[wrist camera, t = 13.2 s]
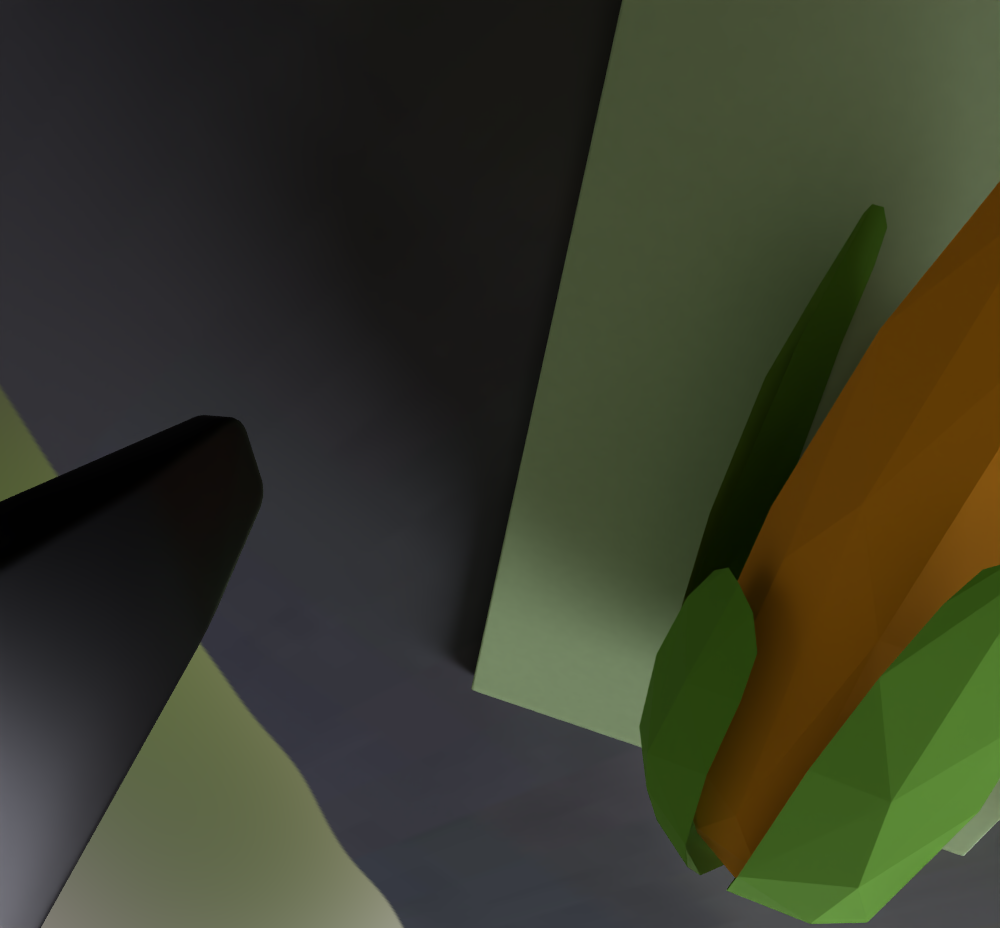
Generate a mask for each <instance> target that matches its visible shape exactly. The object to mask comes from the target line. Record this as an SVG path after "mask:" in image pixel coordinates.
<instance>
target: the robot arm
mask: <svg viewBox="0 0 1000 928" xmlns="http://www.w3.org/2000/svg"><path fill="white" fill-rule="evenodd" d="M262 498H263V483H262V479H261V476H260V473H259V470H258V466H257V463H256V460H255V457H254V454H253V451H252V448H251V444H250V441H249V438H248V435H247V432H246V430H245V427H244V426H243V425H242V423H241V422H240V421H239V420H237V419H235V418H233V417H222V416H210V415H201V416H196V417H194V418H191V419H189V420H187V421H185V422H182V423H180V424H178V425H175V426H173V427H171V428H168V429H166V430H164V431H162V432H159V433H157V434H155V435H152V436H150V437H148V438H145V439H143V440H141V441H139V442H136V443H134V444H132V445H129V446H127V447H125V448H123V449H120V450H118V451H116V452H113V453H111V454H109V455H106V456H104V457H102V458H100V459H97V460H95V461H93V462H90V463H88V464H86V465H83V466H81V467H79V468H77V469H74V470H72V471H70V472H67V473H65V474H63V475H60V476H58V477H56V478H54V479H51V480H49V481H47V482H45V483H42V484H40V485H38V486H35V487H33V488H31V489H28V490H26V491H24V492H21V493H19V494H17V495H15V496H12V497H10V498H8V499H5V500H3V501H1V502H0V928H41V926H42V925H43V923H44V921H45V919H46V917H47V916H48V914H49V912H50V910H51V908H52V907H53V905H54V903H55V901H56V900H57V898H58V896H59V894H60V892H61V891H62V889H63V887H64V885H65V883H66V882H67V880H68V878H69V876H70V875H71V873H72V871H73V869H74V867H75V866H76V864H77V862H78V860H79V858H80V857H81V855H82V853H83V851H84V849H85V848H86V846H87V844H88V842H89V841H90V839H91V837H92V835H93V833H94V832H95V830H96V828H97V826H98V825H99V823H100V821H101V819H102V817H103V816H104V814H105V812H106V810H107V808H108V807H109V805H110V803H111V801H112V800H113V798H114V796H115V794H116V792H117V791H118V789H119V787H120V785H121V783H122V782H123V780H124V778H125V776H126V775H127V773H128V771H129V769H130V767H131V766H132V764H133V762H134V760H135V758H136V757H137V755H138V753H139V751H140V750H141V748H142V746H143V744H144V742H145V741H146V739H147V737H148V735H149V733H150V732H151V730H152V728H153V726H154V725H155V723H156V721H157V719H158V717H159V716H160V714H161V712H162V710H163V708H164V706H165V705H166V703H167V701H168V700H169V698H170V696H171V694H172V692H173V691H174V689H175V687H176V685H177V683H178V681H179V680H180V678H181V676H182V675H183V673H184V671H185V669H186V667H187V666H188V664H189V662H190V660H191V658H192V657H193V655H194V653H195V651H196V649H197V648H198V646H199V644H200V642H201V640H202V638H203V636H204V634H205V632H206V631H207V629H208V627H209V624H210V622H211V620H212V618H213V616H214V614H215V612H216V609H217V607H218V605H219V603H220V600H221V598H222V596H223V593H224V591H225V589H226V586H227V584H228V582H229V579H230V577H231V575H232V572H233V570H234V568H235V565H236V563H237V561H238V558H239V556H240V554H241V551H242V549H243V547H244V544H245V542H246V540H247V537H248V535H249V533H250V530H251V528H252V526H253V523H254V521H255V519H256V516H257V514H258V512H259V509H260V506H261V503H262Z"/></svg>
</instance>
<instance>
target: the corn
mask: <svg viewBox="0 0 1000 928" xmlns="http://www.w3.org/2000/svg"><path fill="white" fill-rule="evenodd" d="M886 230H887V222H886V217H885V211H884V207H882V206H878V205H875V204H872V205H871V206H870V207H869V208H868V209H867V210H866V211H865V212H864V213H863V215H862V216H861V218H860V220H859V221H858V223H857V224H856V226H855V228H854V229H853V231H852V233H851V234H850V236H849V237H848V239H847V241H846V242H845V244H844V246H843V247H842V249H841V250H840V252H839V254H838V255H837V257H836V259H835V260H834V262H833V263H832V265H831V267H830V268H829V270H828V272H827V273H826V275H825V276H824V278H823V280H822V281H821V283H820V285H819V286H818V288H817V290H816V291H815V293H814V295H813V296H812V298H811V300H810V301H809V303H808V305H807V307H806V308H805V310H804V312H803V313H802V315H801V317H800V319H799V320H798V322H797V324H796V325H795V327H794V329H793V331H792V332H791V334H790V336H789V337H788V339H787V341H786V343H785V344H784V346H783V348H782V349H781V351H780V353H779V355H778V356H777V358H776V360H775V361H774V363H773V365H772V366H771V368H770V370H769V372H768V373H767V375H766V377H765V379H764V381H763V384H762V386H761V389H760V391H759V394H758V396H757V398H756V401H755V403H754V406H753V408H752V411H751V413H750V416H749V418H748V420H747V423H746V425H745V428H744V430H743V433H742V435H741V438H740V440H739V443H738V445H737V447H736V450H735V452H734V455H733V457H732V460H731V462H730V465H729V467H728V469H727V472H726V474H725V477H724V479H723V482H722V484H721V487H720V489H719V491H718V494H717V496H716V499H715V501H714V504H713V506H712V509H711V511H710V514H709V517H708V520H707V524H706V527H705V530H704V533H703V537H702V540H701V543H700V547H699V550H698V553H697V557H696V560H695V563H694V566H693V570H692V573H691V576H690V580H689V583H688V586H687V590H686V593H685V596H684V599H683V603H682V606H681V609H680V611H679V613H678V615H677V617H676V619H675V621H674V623H673V624H672V626H671V628H670V630H669V632H668V634H667V636H666V637H665V639H664V641H663V643H662V645H661V647H660V649H659V650H658V652H657V654H656V658H655V662H654V667H653V671H652V675H651V679H650V683H649V687H648V692H647V696H646V700H645V704H644V708H643V713H642V717H641V721H640V725H639V729H640V737H641V745H642V754H643V762H644V770H645V778H646V786H647V791H648V794H649V797H650V800H651V803H652V806H653V810H654V813H655V816H656V819H657V821H658V823H659V824H660V826H661V827H662V829H663V830H664V832H665V833H666V835H667V836H668V838H669V839H670V841H671V842H672V844H673V846H674V847H675V849H676V850H677V852H678V853H679V855H680V856H681V858H682V859H683V861H684V862H685V864H686V865H687V867H688V868H690V869H691V870H693V871H695V872H696V873H698V874H699V875H702V874H704V873H707V872H709V871H711V870H713V869H716V868H718V867H720V866H722V865H725V866H726V868H727V869H728V870H729V871H730V872H731V874H732V875H733V876H734V877H735V878H734V880H733V881H732V883H731V884H730V885H729V887H728V889H727V891H729V892H732V893H734V894H737V895H739V896H742V897H744V898H747V899H749V900H752V901H754V902H757V903H759V904H762V905H764V906H767V907H769V908H772V909H774V910H777V911H779V912H782V913H784V914H787V915H789V916H792V917H794V918H797V919H799V920H802V921H804V922H807V923H810V924H823V923H864V922H868V921H869V920H870V919H871V918H872V917H873V916H874V915H875V914H876V913H877V912H878V911H879V910H880V909H881V908H882V907H883V906H884V905H885V904H886V903H887V902H888V901H889V900H890V899H891V898H892V897H893V896H894V895H896V894H897V893H898V892H899V891H900V890H901V889H902V888H903V887H904V886H905V885H906V884H907V883H908V882H909V881H910V880H911V879H912V878H913V877H914V876H915V875H916V874H917V873H918V872H919V871H920V870H921V869H922V868H923V867H924V866H925V865H926V864H927V863H928V862H929V861H930V860H931V859H932V858H933V857H934V856H935V855H936V854H937V853H938V852H939V851H940V850H941V849H942V848H943V847H944V846H945V845H946V844H947V843H948V842H949V841H950V840H951V839H952V838H953V837H954V836H955V835H956V834H957V833H958V832H959V831H960V830H961V829H962V828H963V827H964V826H965V825H966V824H967V823H968V822H969V821H970V820H971V819H972V818H973V817H974V816H975V815H976V814H977V813H978V812H979V811H980V810H981V808H982V806H983V805H984V803H985V802H986V800H987V798H988V797H989V795H990V793H991V792H992V790H993V789H994V787H995V785H996V784H997V782H998V781H999V779H1000V182H999V183H998V184H997V185H996V186H995V188H994V189H993V190H992V191H991V193H990V194H989V195H988V196H987V198H986V199H985V200H984V201H983V203H982V204H981V205H980V206H979V207H978V209H977V210H976V211H975V212H974V214H973V215H972V216H971V217H970V219H969V220H968V221H967V222H966V223H965V225H964V226H963V227H962V228H961V230H960V231H959V232H958V233H957V235H956V236H955V237H954V238H953V240H952V241H951V242H950V243H949V244H948V246H947V247H946V248H945V249H944V251H943V252H942V253H941V254H940V256H939V257H938V258H937V259H936V260H935V262H934V263H933V264H932V265H931V267H930V268H929V269H928V270H927V272H926V273H925V274H924V275H923V277H922V278H921V279H920V280H919V281H918V283H917V284H916V285H915V286H914V288H913V289H912V290H911V291H910V293H909V294H908V295H907V296H906V298H905V299H904V300H903V301H902V302H901V304H900V305H899V306H898V307H897V309H896V310H895V311H894V312H893V314H892V315H891V316H890V317H889V318H888V320H887V321H886V322H885V323H884V325H883V326H882V327H881V328H880V330H879V331H878V333H877V335H876V336H875V338H874V340H873V341H872V343H871V344H870V346H869V348H868V349H867V351H866V353H865V354H864V356H863V357H862V359H861V361H860V362H859V364H858V366H857V367H856V369H855V371H854V372H853V374H852V375H851V377H850V379H849V380H848V382H847V384H846V385H845V387H844V388H843V390H842V392H841V393H840V395H839V397H838V398H837V400H836V402H835V403H834V405H833V406H832V408H831V410H830V411H829V413H828V415H827V416H826V418H825V420H824V421H823V423H822V424H821V426H820V428H819V429H818V431H817V433H816V434H815V436H814V437H813V439H812V441H811V442H810V444H809V446H808V447H807V449H806V451H805V452H804V454H803V455H802V457H801V459H800V460H799V458H800V455H801V452H802V450H803V447H804V444H805V442H806V439H807V436H808V433H809V431H810V428H811V425H812V423H813V420H814V417H815V414H816V412H817V409H818V406H819V404H820V401H821V398H822V395H823V393H824V390H825V387H826V385H827V382H828V379H829V376H830V374H831V371H832V368H833V366H834V363H835V360H836V357H837V355H838V352H839V349H840V347H841V344H842V342H843V339H844V337H845V335H846V332H847V330H848V327H849V325H850V323H851V320H852V318H853V316H854V313H855V311H856V309H857V306H858V304H859V301H860V299H861V297H862V294H863V292H864V290H865V287H866V285H867V283H868V280H869V278H870V275H871V273H872V271H873V268H874V266H875V263H876V260H877V257H878V254H879V251H880V248H881V245H882V242H883V239H884V236H885V233H886ZM798 461H799V462H798ZM797 463H798V464H797Z"/></svg>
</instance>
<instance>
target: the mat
mask: <svg viewBox="0 0 1000 928" xmlns="http://www.w3.org/2000/svg"><path fill="white" fill-rule="evenodd" d="M999 182H1000V0H622V3H621V8H620V13H619V17H618V22H617V26H616V31H615V35H614V40H613V44H612V49H611V54H610V58H609V63H608V67H607V72H606V76H605V81H604V86H603V90H602V95H601V99H600V104H599V108H598V113H597V118H596V122H595V127H594V131H593V136H592V140H591V145H590V149H589V154H588V159H587V163H586V168H585V172H584V177H583V181H582V186H581V191H580V195H579V200H578V204H577V209H576V213H575V218H574V222H573V227H572V232H571V236H570V241H569V245H568V250H567V254H566V259H565V264H564V268H563V273H562V277H561V282H560V286H559V291H558V295H557V300H556V305H555V309H554V314H553V318H552V323H551V327H550V332H549V337H548V341H547V346H546V350H545V355H544V359H543V364H542V369H541V373H540V378H539V382H538V387H537V391H536V396H535V400H534V405H533V410H532V414H531V419H530V423H529V428H528V432H527V437H526V442H525V446H524V451H523V455H522V460H521V464H520V469H519V473H518V478H517V483H516V487H515V492H514V496H513V501H512V505H511V510H510V515H509V519H508V524H507V528H506V533H505V537H504V542H503V546H502V551H501V556H500V560H499V565H498V569H497V574H496V578H495V583H494V588H493V592H492V597H491V601H490V606H489V610H488V615H487V620H486V624H485V629H484V633H483V638H482V642H481V647H480V651H479V656H478V661H477V665H476V670H475V674H474V679H473V683H472V690H474V691H477V692H480V693H483V694H486V695H489V696H492V697H495V698H498V699H501V700H504V701H506V702H509V703H512V704H515V705H518V706H521V707H524V708H527V709H530V710H533V711H536V712H539V713H542V714H545V715H548V716H551V717H554V718H557V719H560V720H563V721H566V722H569V723H571V724H574V725H577V726H580V727H583V728H586V729H589V730H592V731H595V732H598V733H601V734H604V735H607V736H610V737H613V738H616V739H619V740H622V741H625V742H628V743H631V744H634V745H636V746H639V747H642V745H641V737H640V729H639V725H640V721H641V717H642V713H643V708H644V704H645V700H646V696H647V692H648V687H649V683H650V679H651V675H652V671H653V667H654V662H655V658H656V654H657V652H658V650H659V649H660V647H661V645H662V643H663V641H664V639H665V637H666V636H667V634H668V632H669V630H670V628H671V626H672V624H673V623H674V621H675V619H676V617H677V615H678V613H679V611H680V609H681V606H682V603H683V599H684V596H685V593H686V590H687V586H688V583H689V580H690V576H691V573H692V570H693V566H694V563H695V560H696V557H697V553H698V550H699V547H700V543H701V540H702V537H703V533H704V530H705V527H706V524H707V520H708V517H709V514H710V511H711V509H712V506H713V504H714V501H715V499H716V496H717V494H718V491H719V489H720V487H721V484H722V482H723V479H724V477H725V474H726V472H727V469H728V467H729V465H730V462H731V460H732V457H733V455H734V452H735V450H736V447H737V445H738V443H739V440H740V438H741V435H742V433H743V430H744V428H745V425H746V423H747V420H748V418H749V416H750V413H751V411H752V408H753V406H754V403H755V401H756V398H757V396H758V394H759V391H760V389H761V386H762V384H763V381H764V379H765V377H766V375H767V373H768V372H769V370H770V368H771V366H772V365H773V363H774V361H775V360H776V358H777V356H778V355H779V353H780V351H781V349H782V348H783V346H784V344H785V343H786V341H787V339H788V337H789V336H790V334H791V332H792V331H793V329H794V327H795V325H796V324H797V322H798V320H799V319H800V317H801V315H802V313H803V312H804V310H805V308H806V307H807V305H808V303H809V301H810V300H811V298H812V296H813V295H814V293H815V291H816V290H817V288H818V286H819V285H820V283H821V281H822V280H823V278H824V276H825V275H826V273H827V272H828V270H829V268H830V267H831V265H832V263H833V262H834V260H835V259H836V257H837V255H838V254H839V252H840V250H841V249H842V247H843V246H844V244H845V242H846V241H847V239H848V237H849V236H850V234H851V233H852V231H853V229H854V228H855V226H856V224H857V223H858V221H859V220H860V218H861V216H862V215H863V213H864V212H865V211H866V210H867V209H868V208H869V207H870V206H871V205H872V204H875V205H878V206H882V207H884V211H885V217H886V222H887V230H886V233H885V236H884V239H883V242H882V245H881V248H880V251H879V254H878V257H877V260H876V263H875V266H874V268H873V271H872V273H871V275H870V278H869V280H868V283H867V285H866V287H865V290H864V292H863V294H862V297H861V299H860V301H859V304H858V306H857V309H856V311H855V313H854V316H853V318H852V320H851V323H850V325H849V327H848V330H847V332H846V335H845V337H844V339H843V342H842V344H841V347H840V349H839V352H838V355H837V357H836V360H835V363H834V366H833V368H832V371H831V374H830V376H829V379H828V382H827V385H826V387H825V390H824V393H823V395H822V398H821V401H820V404H819V406H818V409H817V412H816V414H815V417H814V420H813V423H812V425H811V428H810V431H809V433H808V436H807V439H806V442H805V444H804V447H803V450H802V452H801V455H800V458H799V460H800V459H801V457H802V455H803V454H804V452H805V451H806V449H807V447H808V446H809V444H810V442H811V441H812V439H813V437H814V436H815V434H816V433H817V431H818V429H819V428H820V426H821V424H822V423H823V421H824V420H825V418H826V416H827V415H828V413H829V411H830V410H831V408H832V406H833V405H834V403H835V402H836V400H837V398H838V397H839V395H840V393H841V392H842V390H843V388H844V387H845V385H846V384H847V382H848V380H849V379H850V377H851V375H852V374H853V372H854V371H855V369H856V367H857V366H858V364H859V362H860V361H861V359H862V357H863V356H864V354H865V353H866V351H867V349H868V348H869V346H870V344H871V343H872V341H873V340H874V338H875V336H876V335H877V333H878V331H879V330H880V328H881V327H882V326H883V325H884V323H885V322H886V321H887V320H888V318H889V317H890V316H891V315H892V314H893V312H894V311H895V310H896V309H897V307H898V306H899V305H900V304H901V302H902V301H903V300H904V299H905V298H906V296H907V295H908V294H909V293H910V291H911V290H912V289H913V288H914V286H915V285H916V284H917V283H918V281H919V280H920V279H921V278H922V277H923V275H924V274H925V273H926V272H927V270H928V269H929V268H930V267H931V265H932V264H933V263H934V262H935V260H936V259H937V258H938V257H939V256H940V254H941V253H942V252H943V251H944V249H945V248H946V247H947V246H948V244H949V243H950V242H951V241H952V240H953V238H954V237H955V236H956V235H957V233H958V232H959V231H960V230H961V228H962V227H963V226H964V225H965V223H966V222H967V221H968V220H969V219H970V217H971V216H972V215H973V214H974V212H975V211H976V210H977V209H978V207H979V206H980V205H981V204H982V203H983V201H984V200H985V199H986V198H987V196H988V195H989V194H990V193H991V191H992V190H993V189H994V188H995V186H996V185H997V184H998V183H999ZM798 462H799V461H798ZM797 464H798V463H797ZM999 820H1000V779H999V781H998V782H997V784H996V785H995V787H994V789H993V790H992V792H991V793H990V795H989V797H988V798H987V800H986V802H985V803H984V805H983V806H982V808H981V810H980V811H979V812H978V813H977V814H976V815H975V816H974V817H973V818H972V819H971V820H970V821H969V822H968V823H967V824H966V825H965V826H964V827H963V828H962V829H961V830H960V831H959V832H958V833H957V834H956V835H955V836H954V837H953V838H952V839H951V840H950V841H949V842H948V843H947V844H946V845H945V846H944V847H943V848H942V849H944V850H947V851H950V852H953V853H956V854H958V855H961V856H964V855H965V854H966V853H967V852H968V851H969V850H970V849H971V848H972V847H973V846H974V845H975V844H976V843H977V842H978V841H979V840H980V839H981V838H982V837H983V836H984V835H985V834H986V833H987V832H988V831H989V830H990V829H991V828H992V827H993V826H994V825H995V824H996V823H997V822H998V821H999Z"/></svg>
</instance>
